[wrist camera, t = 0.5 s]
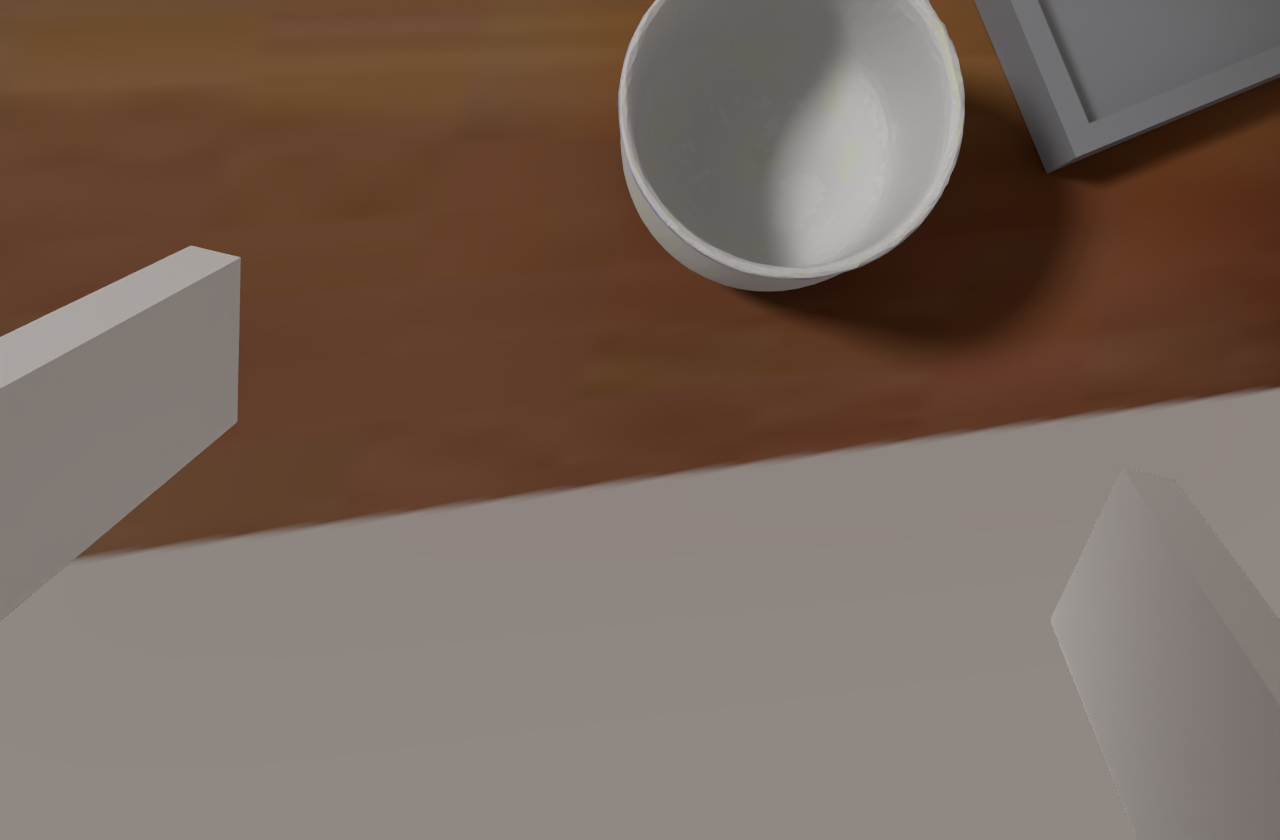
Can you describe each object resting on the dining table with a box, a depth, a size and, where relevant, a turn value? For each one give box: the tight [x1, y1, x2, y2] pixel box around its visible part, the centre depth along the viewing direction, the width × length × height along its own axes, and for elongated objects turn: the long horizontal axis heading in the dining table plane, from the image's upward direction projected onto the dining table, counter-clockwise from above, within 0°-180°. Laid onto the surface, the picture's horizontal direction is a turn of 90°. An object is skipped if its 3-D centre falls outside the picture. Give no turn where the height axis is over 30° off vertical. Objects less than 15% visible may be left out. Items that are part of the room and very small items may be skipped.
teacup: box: [618, 0, 965, 291], centre depth 34 cm, size 14×11×8 cm
